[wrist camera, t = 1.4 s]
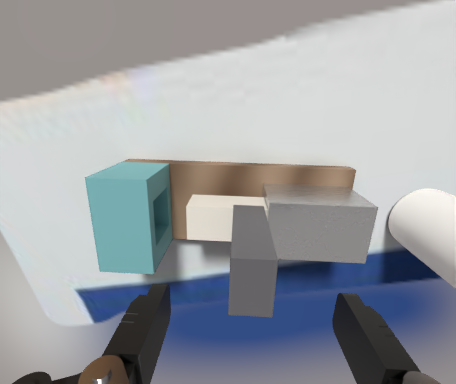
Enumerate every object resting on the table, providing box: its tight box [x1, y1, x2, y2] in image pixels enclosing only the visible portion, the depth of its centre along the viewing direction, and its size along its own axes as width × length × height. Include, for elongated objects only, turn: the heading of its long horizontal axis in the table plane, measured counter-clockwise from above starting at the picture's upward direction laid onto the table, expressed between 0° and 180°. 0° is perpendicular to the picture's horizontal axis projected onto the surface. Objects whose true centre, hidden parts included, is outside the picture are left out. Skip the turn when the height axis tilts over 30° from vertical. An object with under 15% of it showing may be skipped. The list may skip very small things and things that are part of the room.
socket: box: [85, 162, 173, 274], centre depth 22 cm, size 4×8×6 cm, turn 178°
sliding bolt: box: [186, 194, 278, 317], centre depth 18 cm, size 14×4×10 cm, turn 88°
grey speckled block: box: [262, 183, 378, 263], centre depth 22 cm, size 8×5×5 cm, turn 88°
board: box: [123, 159, 356, 239], centre depth 25 cm, size 22×8×2 cm, turn 88°
